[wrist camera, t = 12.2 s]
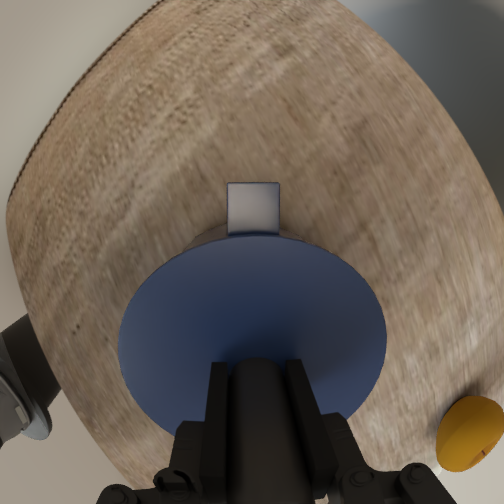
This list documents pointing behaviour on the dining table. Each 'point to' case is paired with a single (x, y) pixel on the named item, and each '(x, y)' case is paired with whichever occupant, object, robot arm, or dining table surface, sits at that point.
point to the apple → (468, 432)
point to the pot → (249, 212)
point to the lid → (253, 349)
